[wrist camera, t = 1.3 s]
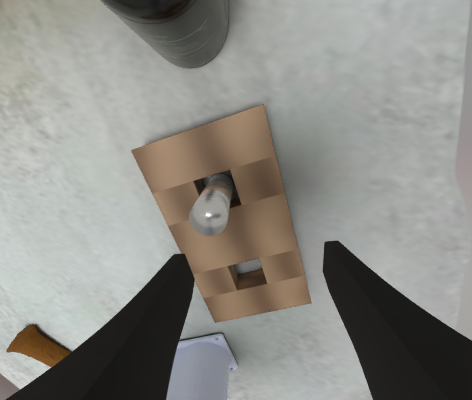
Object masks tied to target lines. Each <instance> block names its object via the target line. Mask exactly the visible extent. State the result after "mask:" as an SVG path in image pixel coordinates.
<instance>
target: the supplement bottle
mask: <svg viewBox="0 0 472 400" xmlns="http://www.w3.org/2000/svg"><path fill="white" fill-rule="evenodd" d="M101 1H102V2H103V3H104V4H105V5H106V6H107V7H108V8H109V9H110V10H111V11H112V12H113V13H115V14H116V15H117V16H118V17H119V18H120V19H121V20H122V21H123V22H124V23H126V24H127V25H128V26H129V27H130V28H131V29H132V30H133V31H134V32H135V33H137V34H138V35H139V36H140V37H141V38H142V39H143V40H144V41H145V42H147V43H148V44H149V45H150V46H151V47H152V48H153V49H154V50H155V51H156V52H158V53H159V54H160V55H161V56H162V57H163V58H165V59H166V60H168V61H169V62H171V63H173V64H175V65H177V66H180V67H186V68H193V67H198V66H201V65H204V64H205V63H207V62H209V61H210V60H211V59H212V58H213V57H214V56H215V55H216V54H217V53H218V52H219V50H220V48H221V47H222V45H223V43H224V40H225V37H226V34H227V29H228V20H229V12H228V0H101Z"/></svg>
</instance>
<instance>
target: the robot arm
mask: <svg viewBox="0 0 472 400" xmlns="http://www.w3.org/2000/svg"><path fill="white" fill-rule="evenodd" d="M323 273H324V277H325V280H326V283H327V286H328V289H329V292H330V294H331V296H332V299H333V301H334V303H335V305H336V308H337V310H338V312H339V314H340V317H341V319H342V321H343V323H344V325H345V328H346V330H347V332H348V334H349V336H350V339H351V341H352V343H353V346H354V348H355V350H356V353H357V355H358V358H359V361H360V364H361V366H362V369H363V372H364V375H365V378H366V380H367V383H368V386H369V389H370V392H371V395H372V398H373V400H472V341H471V340H470V339H468V338H466V337H465V336H463V335H461V334H460V333H458V332H457V331H455V330H454V329H452V328H450V327H449V326H447V325H446V324H444V323H443V322H441V321H440V320H438V319H437V318H435V317H434V316H432V315H431V314H429V313H428V312H427V311H425V310H424V309H422V308H421V307H419V306H418V305H416V304H415V303H414V302H412V301H411V300H409V299H408V298H407V297H405V296H404V295H403V294H401V293H400V292H399V291H397V290H396V289H395V288H393V287H392V286H391V285H390V284H388V283H387V282H386V281H385V280H383V279H382V278H381V277H380V276H378V275H377V274H376V273H375V272H374V271H372V270H371V269H370V268H369V267H367V266H366V265H365V264H364V263H363V262H362V261H361V260H359V259H358V258H357V257H356V256H355V255H354V254H353V253H351V252H350V251H349V250H348V249H347V248H346V247H345V246H344V245H342V244H341V243H340V242H339V241H328V242H325V245H324V260H323ZM194 282H195V278H194V276H193V273H192V271H191V268H190V266H189V263H188V260H187V258H186V255H185V253H183V254H174V255H173V256H172V257H171V258H170V259H169V260H168V261H167V262H166V263H165V265H164V266H163V267H162V268H161V269H160V270H159V271H158V272H157V273H156V275H155V276H154V277H153V278H152V279H151V280H150V281H149V282H148V283H147V284H146V285H145V286H144V288H143V289H142V290H141V291H140V292H139V293H138V294H137V295H136V296H135V297H134V298H133V299H132V300H131V301H130V302H129V303H128V304H127V305H126V306H125V307H124V308H123V309H122V310H121V311H120V312H118V313H117V314H116V315H115V316H114V317H113V318H112V319H111V320H110V321H109V322H107V323H106V324H105V325H104V326H103V327H102V328H101V329H100V330H98V331H97V332H96V333H95V334H94V335H92V336H91V337H90V338H89V339H87V340H86V341H85V342H84V343H82V344H81V345H80V346H79V347H78V348H76V349H75V350H74V351H73V352H71V353H70V354H69V355H67V356H66V357H65V358H64V359H62V360H61V361H60V362H58V363H57V364H56V365H54V366H53V367H52V368H50V369H49V370H47V371H46V372H45V373H43V374H42V375H41V376H39V377H38V378H36V379H35V380H34V381H32V382H31V383H29V384H28V385H26V386H25V387H24V388H22V389H21V390H19V391H18V392H16V393H15V394H13V395H12V396H10V397H9V398H7V399H6V400H227V394H228V376H229V371H232V370H237V369H238V365H237V363H236V361H235V358H234V356H233V354H232V352H231V350H230V348H229V346H228V344H227V342H226V340H225V338H224V336H223V334H215V335H210V336H205V337H200V338H195V339H189V340H184V341H179V339H180V336H181V333H182V329H183V326H184V323H185V319H186V316H187V313H188V309H189V306H190V302H191V299H192V293H193V288H194Z"/></svg>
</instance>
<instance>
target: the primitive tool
mask: <svg viewBox="0 0 472 400" xmlns="http://www.w3.org/2000/svg"><path fill="white" fill-rule="evenodd" d="M7 352H18V353H21V354H25V355H27V356H29V357H33V358H34V359H36V360H39V361H41V362H43V363H44V364H46V365H48V366H50V367H53V366H54V365H56V364H57V363H58V362H60V361H61V360H62V359H64V358H65V357H66V356H67V355H69V354H70V353H71V351H69V350H67V349H65V348H63V347H61V346H59V345H58V344H56V343H55V342H53V341H51V340H50V339H48V338H47V337H44V336H43V335H41V333H40V332H39V331H38V329H37V327H36V326H35V325H31V326H29V327H27V328H25V329H24V330H22V331H21V332H19V333H18V334H17V336H16V337H15V339H14V340H13V341H12V342H11V344H10V345H9V347H8V349H7Z"/></svg>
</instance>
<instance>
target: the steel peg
mask: <svg viewBox="0 0 472 400" xmlns="http://www.w3.org/2000/svg"><path fill="white" fill-rule="evenodd" d="M232 189H233V183H232V181H231V179H230V178H229V177H228V176H226V175H224V174H216V175H214V176H213V177H211V179H210V180H209V182H208V183H207V185H206V187H205V188H204V190H203V191H202V193H201V195H200V196H199V198H198V199H197V201H196V203H195V204H194V206H193V207H192V209H191V211H190V214H189V221H190V224H191V226H192V227H193V229H194V230H195V231H197V232H198V233H200V234H202V235H206V236H213V235H217V234H219V233H221V232H222V231H223V230H224V229H225V227H226V225H227V221H228V215H229V208H230V202H231V195H232Z"/></svg>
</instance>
